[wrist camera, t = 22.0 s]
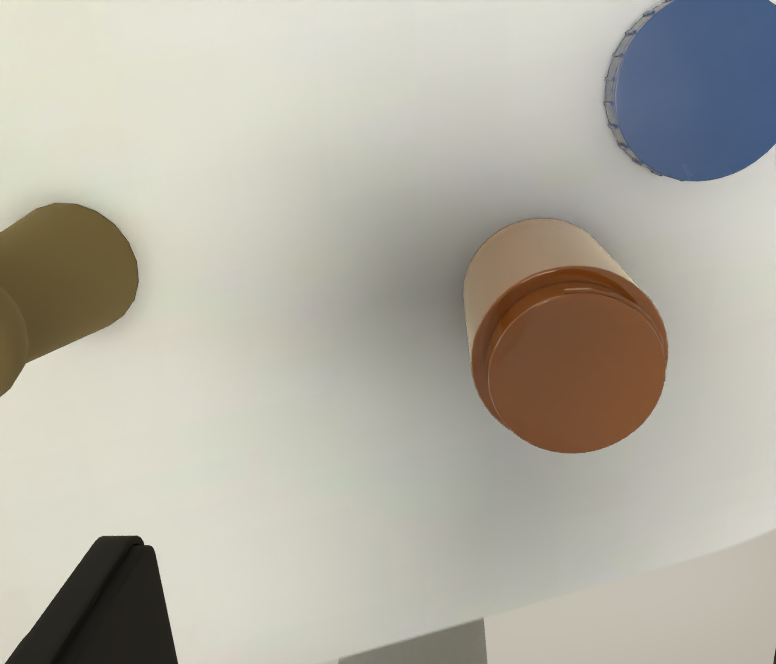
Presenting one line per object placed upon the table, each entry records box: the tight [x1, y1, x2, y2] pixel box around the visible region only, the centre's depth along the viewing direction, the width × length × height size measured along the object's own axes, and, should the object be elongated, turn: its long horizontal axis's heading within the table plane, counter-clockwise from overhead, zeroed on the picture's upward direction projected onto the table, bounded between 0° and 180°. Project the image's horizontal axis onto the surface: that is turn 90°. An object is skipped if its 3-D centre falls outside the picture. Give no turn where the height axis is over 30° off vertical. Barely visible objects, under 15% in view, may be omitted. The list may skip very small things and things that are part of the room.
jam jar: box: [463, 218, 668, 453], centre depth 27 cm, size 7×7×9 cm
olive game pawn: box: [0, 203, 138, 397], centre depth 28 cm, size 6×6×11 cm
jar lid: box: [603, 0, 776, 181], centre depth 28 cm, size 7×7×2 cm
